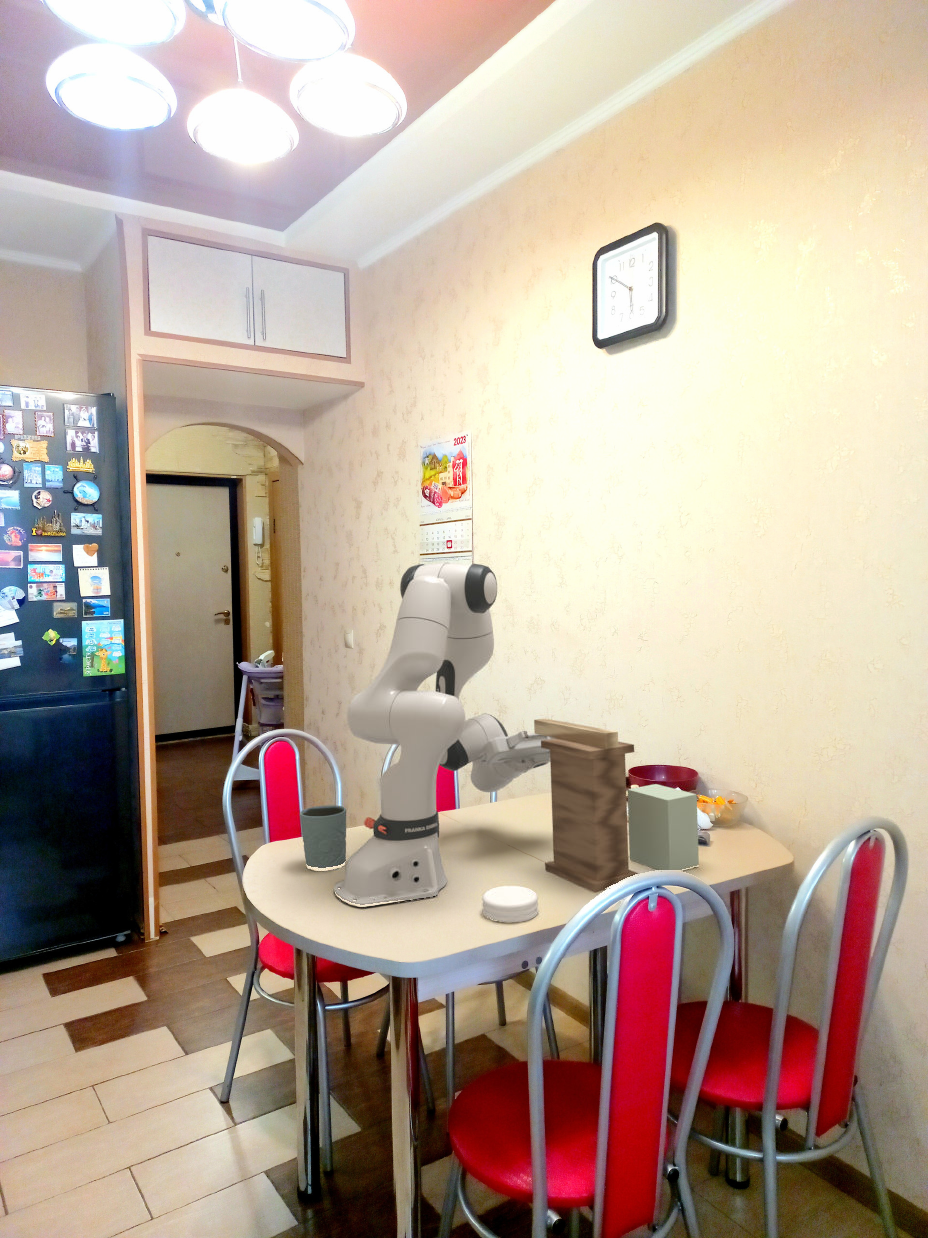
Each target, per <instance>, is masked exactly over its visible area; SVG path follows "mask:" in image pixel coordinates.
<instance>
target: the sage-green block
mask: <svg viewBox="0 0 928 1238" xmlns="http://www.w3.org/2000/svg"><path fill="white" fill-rule="evenodd" d="M697 797H698V794H696V793H693V792H688V791H685V790H681V789H677V788H673V787H669V786H664V785H662V784H657V783H655V784H654V783H652V784H649V785H644V786H640V787H639V786H638V787H634V788H628V789H627V821H628V852H629V860H631V861H633V862H636V863H638V864H641V865H644V866H647V867H649V868H651V869H654V870H657V871H659V870H682V869H686V868H690V867H693V866H697V865H700V864H699V863H700V862H699V860H700V859H699V856H700V855H699V831H698V830H699V829H698V827H699V825H698V822H699V821H698V799H697ZM684 871H685V872H686V870H684ZM684 871H683V872H684Z"/></svg>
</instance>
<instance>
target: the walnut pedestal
mask: <svg viewBox="0 0 928 1238" xmlns="http://www.w3.org/2000/svg"><path fill="white" fill-rule="evenodd" d="M541 748H544V749H548V750H550V762H549V763H550V786H551V787H550V788H551V817H552V818H551V819H552V821H551V823H552V844H553V845H552V848H553V849H552V851H553V860H552V861H548V862H545V863H544V867H545V868H544V869H545V871H546V872H548V873H551V874H552V875H555V876H558V877H559V878H562V879H564V880H566V881H568V882H571V883H573V884H575V885H577V886H579V887H582V888H584V889H587V890H588V891H591V892H593V893H596V892H597V893H598V892H601V891H605V890H606V889H605V888H607V887H609V886H611V885H613V884H616V883H618V882H619V881H621V880H623V879H625V878H627V877H630V876H633V875H635V874H638V875H639V873H638V872H637V871H634V870H631V869H629V867H630V866H629V865H630V864H629V831H628V799H627V778H626V777H627V775H626V774H627V773H626V772H627V771H626V754H631V753H635V744H632V743H629V742H622V741H618V747H616V748H609V749H604V748H599V747H595V746H590V745H585V744H581V743H576V742H571V741H567V740H562V739H558V738H555V739H548V740H541ZM604 889H605V890H604Z"/></svg>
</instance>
